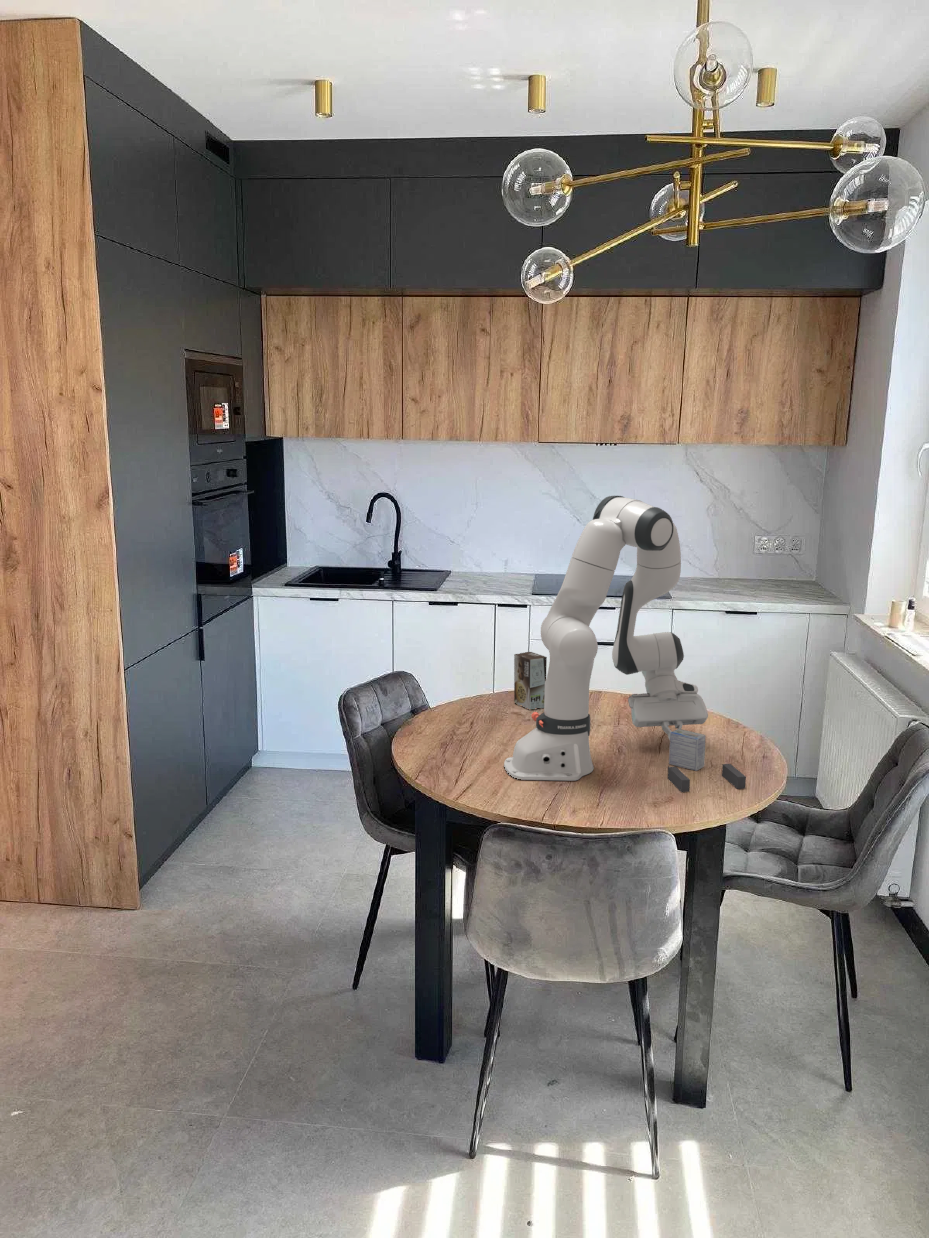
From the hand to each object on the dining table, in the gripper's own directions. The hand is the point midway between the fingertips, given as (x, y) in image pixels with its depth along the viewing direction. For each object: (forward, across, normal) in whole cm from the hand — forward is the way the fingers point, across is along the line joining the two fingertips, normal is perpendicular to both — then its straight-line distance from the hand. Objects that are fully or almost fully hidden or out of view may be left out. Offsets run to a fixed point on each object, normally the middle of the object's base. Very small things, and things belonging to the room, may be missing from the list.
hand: (675, 738), depth 246 cm
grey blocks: (+18, 0, -12) cm, 21 cm away
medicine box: (+9, 0, -2) cm, 9 cm away
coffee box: (-32, -28, +38) cm, 57 cm away
